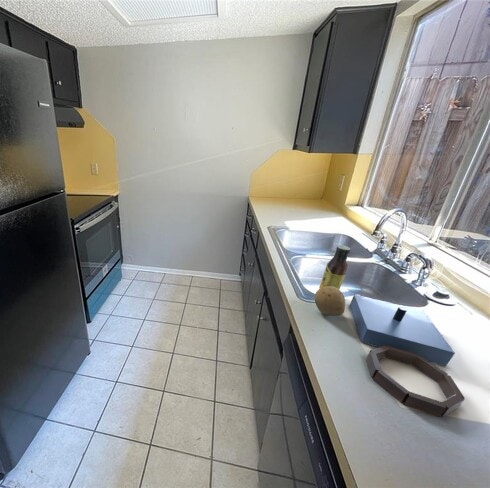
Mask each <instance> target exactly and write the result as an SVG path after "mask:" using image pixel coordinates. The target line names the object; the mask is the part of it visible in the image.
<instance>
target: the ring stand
mask: <svg viewBox="0 0 490 488" xmlns="http://www.w3.org/2000/svg"><path fill="white" fill-rule="evenodd" d="M349 310H350V312H351V316H352V318H353V322H354V324H355V327H356V330H357V334H358V336H359V339H360V342H361V343H363V344H367V345H369V346H374V347H376V348H378V347H381V346H384V345H386V346H387V345H388V346H392V347H395V348H399V349H402V350H406V351H409V352H413V353H416V355H420V356H421V357H423V358H424V359H426V360H427V361H429V362H430V363H432V364H434V365H438V366H442V367H447V366H448V365H449V363H450V361H451V360H452V358H453V357H454V356H455V354H456V352H455V351H454V349H453V348H452V347H451V345H450V344H449V342H448V341H447V340H446V338H445V337H444V336H443V334H442V333H441V331H439V329H438V327H436V325H435V324H434V322H433V321H432V320H431V318H430V317H429V315H427V313H426V312H425V310H422V309H418V308H415V307H414V308H413V307H410V306H405V305H401V304H397V303H392V302H388V301H384V300H381V299H380V300H379V299H375V298H371V297H368V296H362V295H358V294H353V296H352V298H351V301H350V303H349Z"/></svg>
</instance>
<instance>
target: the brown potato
mask: <svg viewBox="0 0 490 488" xmlns="http://www.w3.org/2000/svg"><path fill="white" fill-rule="evenodd" d="M313 298H314V300H313V301H314V303H315V305H316V307H317V310H318V311H319V312H320V313H321V314H323V315H325V316H341V315H343V314H344V313H345V310H346V298H345V295H344V293H343V291H341V289H340V290H339V289H337V288H335V287H331V286H328V287H323V288H321V289H319V288H318V289H317V290H316V292H315V293H314V295H313Z"/></svg>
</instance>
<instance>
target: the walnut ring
mask: <svg viewBox="0 0 490 488" xmlns="http://www.w3.org/2000/svg"><path fill="white" fill-rule="evenodd" d="M384 358H387V359H391V360H394V361H397V362H401V363H404V364H407V365H410V366H412V367H413V368H415V369H417V370H418V371H420V372H421V373H423V374H424V375H425V376H427V377H428V378H430V379H431V380H433V381H434V382H436V383H437V384H438V386H439V388H440V389H441V391H442V393H443V395H444V397H445V399H444V400H442V401H439V400H437V399H434V398H431V397H427V396H424V395H421V394H419V393H415V392H413V391H410V390H408V389H407V388H405V387H404V386H403V385H401V384H400V383H399V382H397V381H396V380H395V379H394V378H392V377H391V376H390V375H388V374H387V373H386V372H385V371H383V369H382V367H381V364H380V361H379V360H381V359H384ZM365 362H366V366H367V368H368V372H369V374H370V378H371V379H372V380H373V381H374V383H376V384H378V386H379V387H381V388H382V389H383V390H385V391H386V392H387V393H388V394H390V395H391V396H392V397H393V398H395V399H396V400H397V401H398V402H399V403H402V404H403V405H404V406H407V407H410V408H413V409H415V410H418V411H421V412H423V413H427V414H430V415H433V416H435V417H441V418H443V417H445V416H446V415H448V414H450V413H452V412H454V411H455V410H457V409H459V407H460V406H461V405H462V403H463V402H465V400H466V399H465V396H464V395H463V393H462V391H461V390H460V389H459V387H458V385H457V384H456V382H455V381H454V379H453V378H452V376H451V375H449V373H447V372H446V371H445V370H443V369H441V368H440V367H438V366H436V364H435V363H431V362H429V361H427V360H426V359H424V358H423V357H421V356H420V355H416V353H413V352H409V351H406V350H402V349H399V348H395V347H392V346H388V345H387V346H386V345H384V346H381V347H376V348H374V349H371V350H369V351H368V354H367V356H366V358H365Z"/></svg>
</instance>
